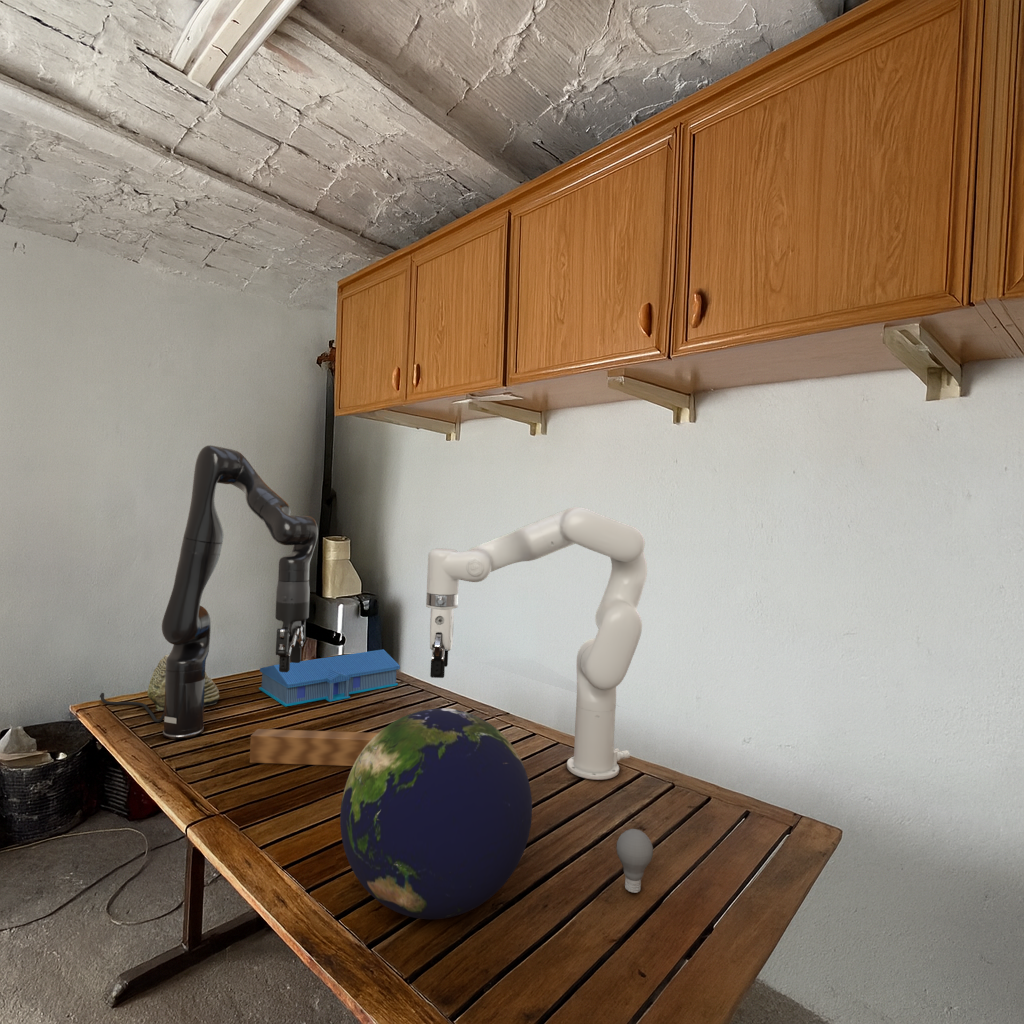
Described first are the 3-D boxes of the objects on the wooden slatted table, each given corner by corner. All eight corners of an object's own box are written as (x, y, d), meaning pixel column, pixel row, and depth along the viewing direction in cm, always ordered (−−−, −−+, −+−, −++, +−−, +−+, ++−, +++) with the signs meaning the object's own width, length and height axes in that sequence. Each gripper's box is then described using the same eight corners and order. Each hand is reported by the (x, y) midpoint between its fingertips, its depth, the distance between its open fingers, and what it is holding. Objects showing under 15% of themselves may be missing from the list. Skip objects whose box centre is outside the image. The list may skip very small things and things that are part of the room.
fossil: (144, 707, 182) (145, 655, 182) (212, 696, 194) (213, 647, 194) (151, 716, 175) (153, 662, 175) (221, 703, 188) (223, 653, 188)
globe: (293, 930, 92) (301, 726, 92) (403, 834, 120) (409, 676, 120) (479, 999, 81) (489, 767, 81) (552, 875, 109) (560, 702, 108)
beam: (249, 762, 149) (250, 735, 149) (256, 755, 153) (257, 728, 153) (466, 769, 150) (467, 742, 150) (467, 762, 155) (468, 735, 155)
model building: (289, 709, 186) (291, 675, 185) (258, 688, 204) (259, 657, 204) (403, 687, 212) (405, 657, 212) (366, 670, 230) (368, 643, 230)
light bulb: (610, 879, 108) (613, 822, 108) (644, 879, 109) (647, 822, 109) (619, 902, 102) (622, 840, 102) (655, 901, 103) (658, 840, 103)
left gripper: (299, 604, 143) (296, 675, 144) (317, 595, 158) (314, 660, 158) (266, 603, 143) (263, 674, 144) (286, 594, 158) (284, 658, 158)
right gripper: (455, 607, 143) (452, 682, 143) (459, 595, 160) (457, 662, 160) (422, 606, 143) (419, 681, 143) (430, 594, 160) (427, 661, 160)
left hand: (290, 666), depth 151 cm, fingers open, 8 cm apart
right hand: (439, 671), depth 152 cm, fingers open, 9 cm apart
